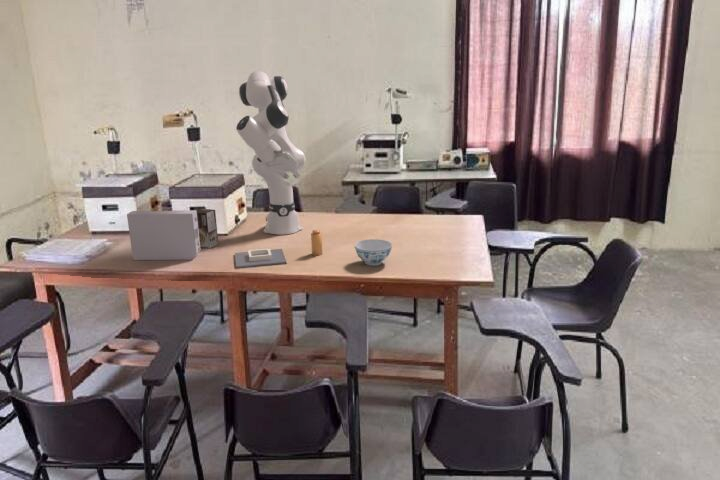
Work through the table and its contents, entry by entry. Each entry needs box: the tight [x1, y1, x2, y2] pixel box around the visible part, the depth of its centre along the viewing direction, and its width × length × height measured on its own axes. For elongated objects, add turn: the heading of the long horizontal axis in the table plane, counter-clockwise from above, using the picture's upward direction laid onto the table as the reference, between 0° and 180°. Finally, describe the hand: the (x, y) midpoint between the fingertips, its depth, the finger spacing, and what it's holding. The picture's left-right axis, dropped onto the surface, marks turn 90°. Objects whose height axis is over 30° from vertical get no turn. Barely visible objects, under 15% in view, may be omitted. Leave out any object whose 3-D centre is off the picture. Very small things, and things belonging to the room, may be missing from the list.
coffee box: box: [195, 207, 219, 249], centre depth 263 cm, size 9×6×16 cm
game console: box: [126, 209, 201, 261], centre depth 246 cm, size 6×27×20 cm, turn 88°
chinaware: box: [354, 238, 393, 267], centre depth 236 cm, size 15×15×8 cm
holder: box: [234, 248, 288, 269], centre depth 244 cm, size 18×20×3 cm
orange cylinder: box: [310, 229, 323, 257], centre depth 248 cm, size 4×4×10 cm
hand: (292, 177), depth 238 cm, fingers open, 8 cm apart
